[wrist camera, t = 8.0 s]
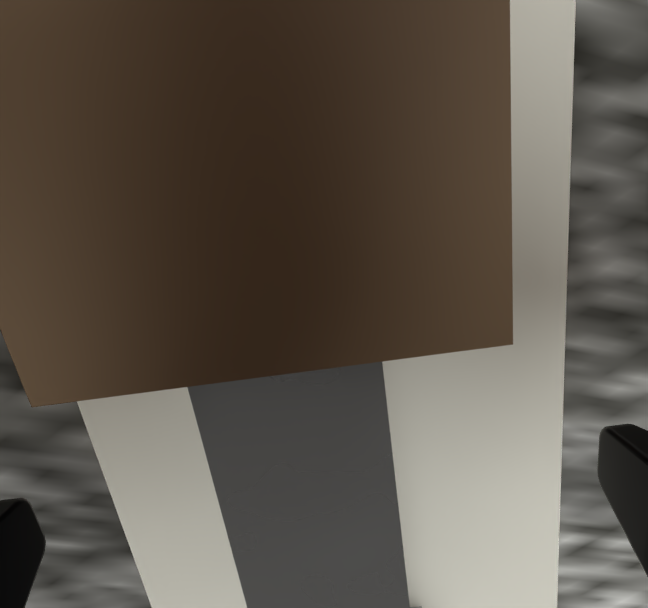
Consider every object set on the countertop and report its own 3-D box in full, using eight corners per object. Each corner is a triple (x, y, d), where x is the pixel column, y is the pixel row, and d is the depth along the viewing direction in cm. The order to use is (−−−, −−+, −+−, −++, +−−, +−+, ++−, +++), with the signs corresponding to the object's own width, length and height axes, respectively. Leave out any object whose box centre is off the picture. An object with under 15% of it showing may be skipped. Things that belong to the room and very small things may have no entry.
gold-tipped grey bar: (316, 728, 15) (315, 871, 12) (184, 158, 9) (125, 178, 7) (417, 718, 15) (440, 860, 12) (348, 134, 9) (361, 142, 6)
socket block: (180, 256, 13) (31, 407, 6) (126, 42, 11) (-159, -66, 5) (411, 223, 13) (513, 344, 6) (392, 0, 11) (508, -181, 4)
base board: (232, 806, 23) (230, 823, 22) (-53, 0, 11) (-72, -6, 11) (545, 777, 22) (551, 794, 22) (566, -102, 11) (579, -114, 10)
